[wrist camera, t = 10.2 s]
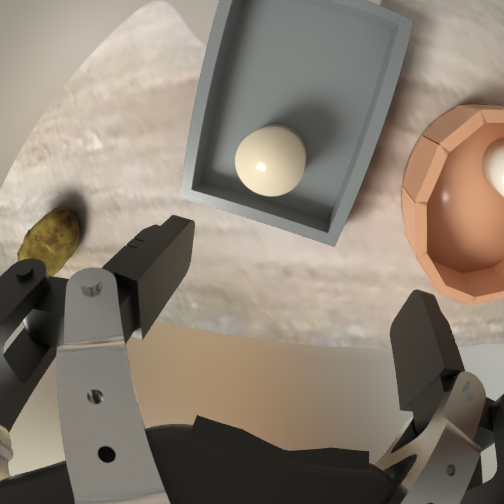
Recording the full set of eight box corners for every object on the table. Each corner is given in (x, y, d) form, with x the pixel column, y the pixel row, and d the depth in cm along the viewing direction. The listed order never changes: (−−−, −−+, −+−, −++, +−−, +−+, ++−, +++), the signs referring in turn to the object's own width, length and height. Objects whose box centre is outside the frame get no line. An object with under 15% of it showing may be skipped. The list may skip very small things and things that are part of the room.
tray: (239, -14, 16) (227, -27, 13) (402, 28, 16) (414, 20, 13) (195, 184, 28) (179, 197, 25) (333, 228, 27) (334, 246, 24)
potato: (102, 249, 35) (65, 284, 29) (59, 264, 40) (28, 292, 33) (74, 195, 32) (31, 223, 25) (35, 221, 37) (1, 246, 30)
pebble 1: (255, 116, 22) (243, 121, 19) (314, 133, 22) (313, 141, 18) (242, 170, 25) (228, 185, 21) (297, 187, 24) (292, 205, 21)
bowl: (438, 68, 16) (463, 65, 12) (556, 161, 15) (583, 176, 11) (371, 242, 26) (378, 271, 22) (490, 290, 25) (505, 318, 21)
